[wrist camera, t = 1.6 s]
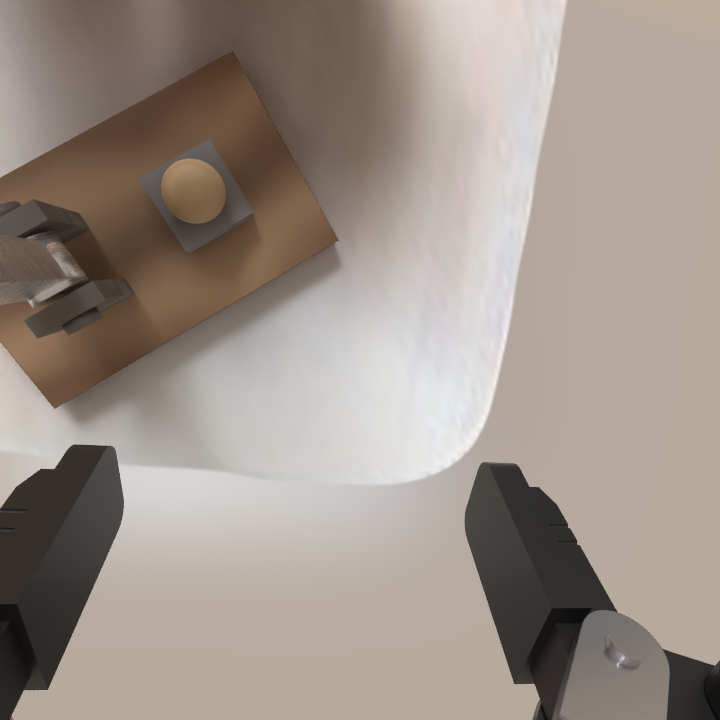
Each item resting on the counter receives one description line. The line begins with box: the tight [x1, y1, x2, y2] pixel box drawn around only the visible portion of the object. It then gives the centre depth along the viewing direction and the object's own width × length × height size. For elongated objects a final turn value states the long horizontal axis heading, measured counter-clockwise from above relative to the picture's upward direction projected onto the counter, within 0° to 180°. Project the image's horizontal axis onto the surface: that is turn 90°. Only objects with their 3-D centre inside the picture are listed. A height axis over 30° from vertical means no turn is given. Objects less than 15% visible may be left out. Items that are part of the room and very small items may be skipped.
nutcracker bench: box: [0, 52, 339, 409], centre depth 27 cm, size 12×20×8 cm, turn 120°
